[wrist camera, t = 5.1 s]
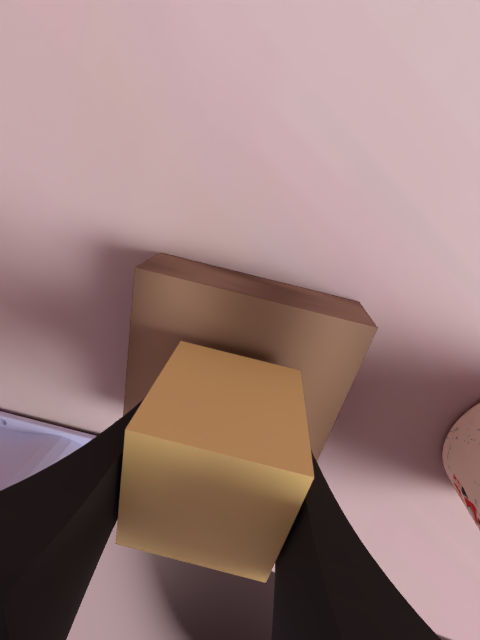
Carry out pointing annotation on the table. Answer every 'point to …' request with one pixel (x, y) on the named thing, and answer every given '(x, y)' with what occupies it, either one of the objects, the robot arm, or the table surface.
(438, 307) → the table surface
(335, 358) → the walnut base
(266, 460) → the ochre block
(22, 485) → the robot arm
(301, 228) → the table surface
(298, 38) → the table surface
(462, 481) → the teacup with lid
